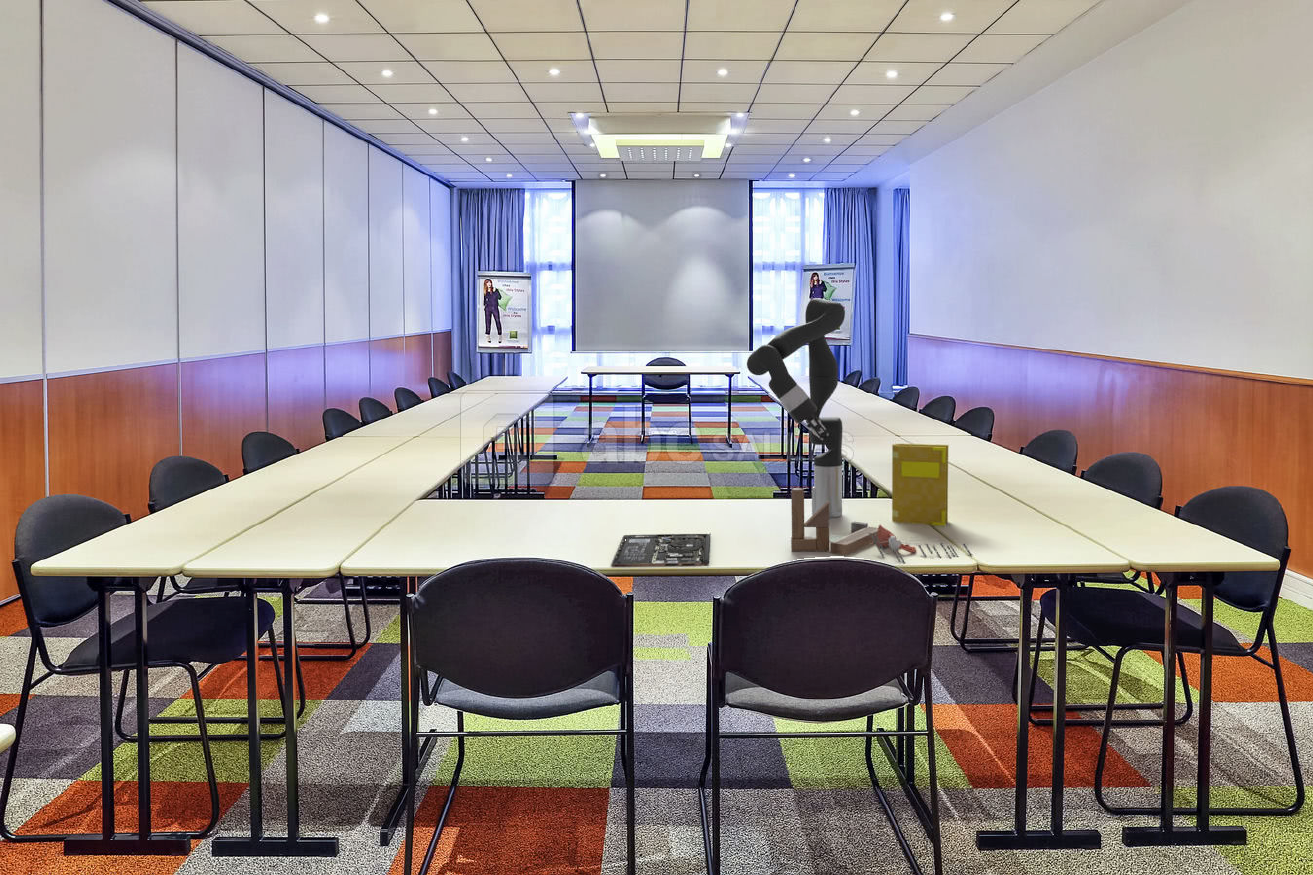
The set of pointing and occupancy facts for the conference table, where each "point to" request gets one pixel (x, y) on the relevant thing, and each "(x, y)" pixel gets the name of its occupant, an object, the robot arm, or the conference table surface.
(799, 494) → the wooden block
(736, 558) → the conference table surface
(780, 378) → the robot arm
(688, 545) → the laptop interior
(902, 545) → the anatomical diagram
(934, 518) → the book
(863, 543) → the walnut rail
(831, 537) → the end pad
